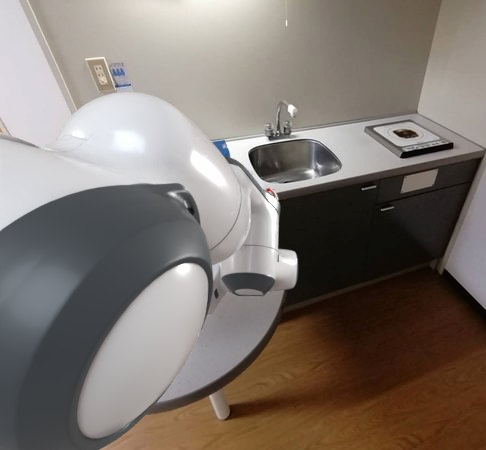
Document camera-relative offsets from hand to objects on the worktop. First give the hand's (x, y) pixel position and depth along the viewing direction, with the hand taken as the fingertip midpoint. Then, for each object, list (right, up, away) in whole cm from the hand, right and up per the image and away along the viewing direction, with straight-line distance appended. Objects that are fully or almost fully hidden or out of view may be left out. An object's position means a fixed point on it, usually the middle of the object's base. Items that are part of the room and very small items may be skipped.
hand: (148, 270), depth 61 cm
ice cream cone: (+21, +9, +41) cm, 47 cm away
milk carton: (+3, +20, +55) cm, 58 cm away
